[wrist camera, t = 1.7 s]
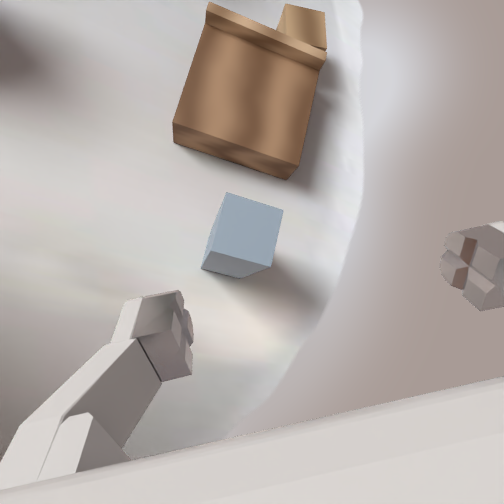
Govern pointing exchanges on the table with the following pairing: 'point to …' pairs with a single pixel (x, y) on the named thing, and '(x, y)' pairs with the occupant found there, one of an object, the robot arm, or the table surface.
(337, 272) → the table surface
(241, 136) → the walnut plinth
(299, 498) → the robot arm
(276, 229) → the slate-blue pillar block
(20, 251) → the table surface
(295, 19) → the stained oak block
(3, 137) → the table surface
